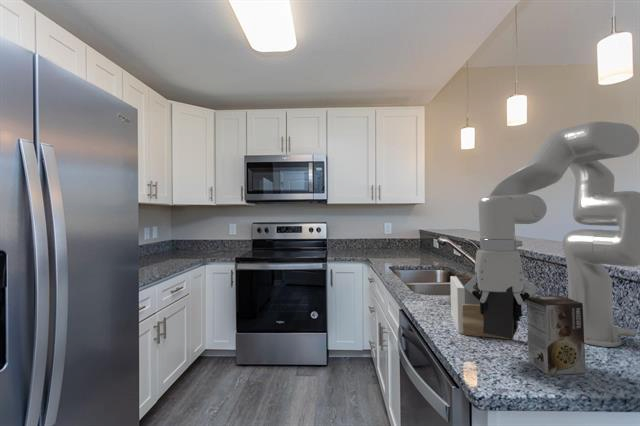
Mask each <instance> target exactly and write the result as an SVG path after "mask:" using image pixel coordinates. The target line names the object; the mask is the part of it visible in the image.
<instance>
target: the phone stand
mask: <svg viewBox="0 0 640 426" xmlns="http://www.w3.org/2000/svg"><path fill="white" fill-rule="evenodd" d="M485 303H488V309H487V311H486V312H485V307H484V326H483V333H485V334H490V335H494V336H499V337H504V338H503V339H505V338H509V339H508V340H513V339H514V337H515V335H516V333H517V331H518V329H519V324H518V323H519V321H516V320H515V319H514V318H513V311H514V304H515V297H514V295H513V286H512V287H509V288H508V289H507V290H506V292H502V293H498V292H489V294H488V296H487V299H486V302H485Z"/></svg>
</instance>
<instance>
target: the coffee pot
mask: <svg viewBox="0 0 640 426" xmlns="http://www.w3.org/2000/svg"><path fill="white" fill-rule="evenodd" d="M454 276H456V277H457V278H458V280H459V281H460V282H461V284H462V285H463V287H464V288H465V285H466V284H467V283H468V282H469V281H470V280H471V279H472V278H473V277H474V276H472V275H468V274H467V275H464V274H458V275H457V274H455V275H454ZM474 287H477V286H476V285H474V286H473V289H475V288H474ZM447 303H448V305H449V307H451V294H450V295H449V297H448V299H447ZM465 304H474V305H480V301H479V300H478V299H477V298H476V297H475V296H474V295H473V294H472V293H470V292H469V291H468V290H467V289H466V288H465Z"/></svg>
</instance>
